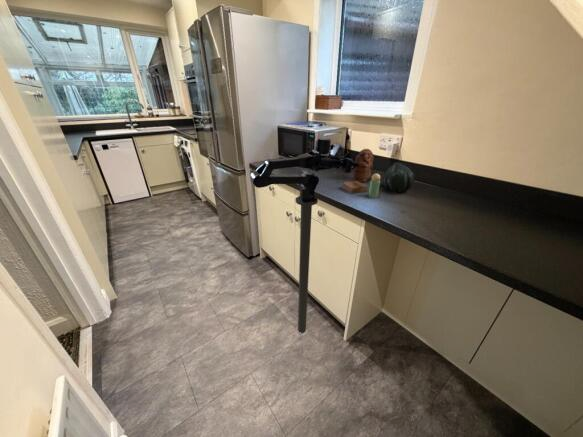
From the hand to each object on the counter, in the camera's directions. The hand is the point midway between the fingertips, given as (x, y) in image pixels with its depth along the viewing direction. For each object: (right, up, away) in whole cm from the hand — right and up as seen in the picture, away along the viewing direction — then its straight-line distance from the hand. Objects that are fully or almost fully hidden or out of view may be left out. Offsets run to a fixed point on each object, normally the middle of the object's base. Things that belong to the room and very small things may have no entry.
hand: (353, 162), depth 117 cm
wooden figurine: (+11, -6, +21) cm, 24 cm away
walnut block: (+2, -13, +7) cm, 15 cm away
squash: (+25, -13, +7) cm, 29 cm away
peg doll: (+9, -17, -1) cm, 20 cm away
